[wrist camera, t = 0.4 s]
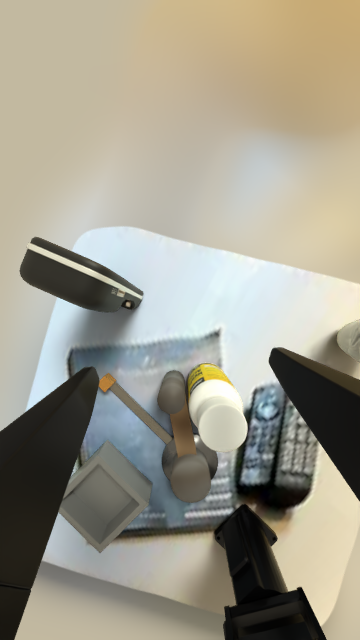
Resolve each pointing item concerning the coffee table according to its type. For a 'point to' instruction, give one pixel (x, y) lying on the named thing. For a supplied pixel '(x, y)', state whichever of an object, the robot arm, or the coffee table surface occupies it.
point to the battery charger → (76, 278)
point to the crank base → (159, 429)
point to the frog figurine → (350, 339)
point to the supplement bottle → (216, 408)
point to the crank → (183, 442)
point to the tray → (105, 496)
